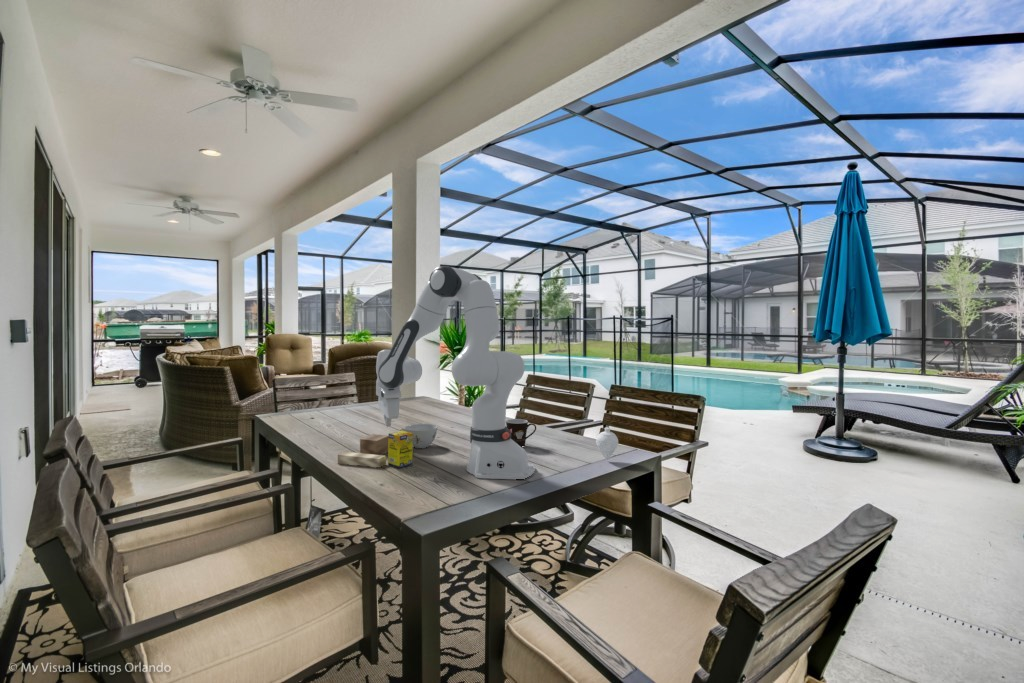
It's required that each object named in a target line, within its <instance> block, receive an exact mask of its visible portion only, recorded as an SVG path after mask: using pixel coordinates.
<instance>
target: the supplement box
mask: <svg viewBox="0 0 1024 683" xmlns="http://www.w3.org/2000/svg"><path fill="white" fill-rule="evenodd" d="M387 436H388V452H387V455H388V456H387V459H388V460H387V464H388V466H390V467H393V466H394V467H393V468H396V467H397V469H401V468H404V466H405V467H408V466H412V465H413V459H414V458H413V449H414V447H413V433H410V432H406V431H400V430H399V431H394V432H389V433H388V434H387ZM411 464H412V465H411ZM407 465H408V466H407Z"/></svg>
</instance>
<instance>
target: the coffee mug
mask: <svg viewBox="0 0 1024 683" xmlns="http://www.w3.org/2000/svg"><path fill="white" fill-rule="evenodd" d="M505 426H506V427H507V428H508V429H509V430H510V429H512V432H511V439H512V440H513V441H514V442H516V443H517V444H518V445H519V446H520V447H522V446H525V447H526V442H527V441H526V440H527V439H529V438H530V437H531V436H532V435H534V433H535V432H536V431H537V426H536V424H535V423H532V422H531V423H529V421H528V420H527V419H523V418H510V419H505ZM530 426H534V430H533V432H531V433H530V434H528V435H527V431H528V428H529V427H530Z"/></svg>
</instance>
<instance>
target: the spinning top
mask: <svg viewBox="0 0 1024 683" xmlns="http://www.w3.org/2000/svg"><path fill="white" fill-rule="evenodd" d="M595 444H596V446H597V448H598V450H599V451H600V453H601V455H602V456H603V458H604V459H605V460H606V459H607V460H609V458H611V456H612V455H613V454H614V452H615V451H616V449H617V447H618V445H619V438H618V436H617V435H616V434H615V433H614V432H612V431H611V427H604V431H602V432H600V433H599V434H598V435H597V436H596V439H595Z"/></svg>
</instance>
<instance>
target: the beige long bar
mask: <svg viewBox="0 0 1024 683" xmlns="http://www.w3.org/2000/svg"><path fill="white" fill-rule="evenodd" d="M338 463H339V465H347V464H349V466H357V465H361V466H360V467H366V466H370V467H369V468H376V467H380V468H382V467H383V465H384V466H386V465H385V464H387V456H386V455H384V454H382V455H374V454H363V453H360V452H352V451H343V452H341V453H338V454H337V464H338ZM381 466H382V467H381Z"/></svg>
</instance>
